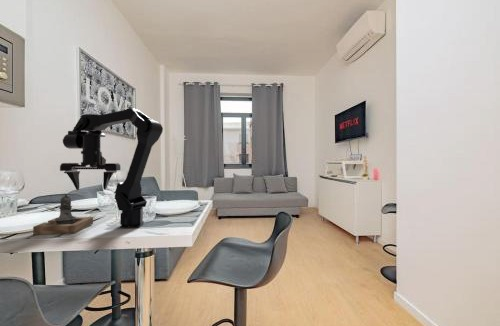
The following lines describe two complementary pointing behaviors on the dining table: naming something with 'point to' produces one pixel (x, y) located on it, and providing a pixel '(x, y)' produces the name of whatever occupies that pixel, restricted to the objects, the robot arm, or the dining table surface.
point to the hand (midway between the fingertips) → (91, 189)
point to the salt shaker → (65, 211)
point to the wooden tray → (63, 226)
